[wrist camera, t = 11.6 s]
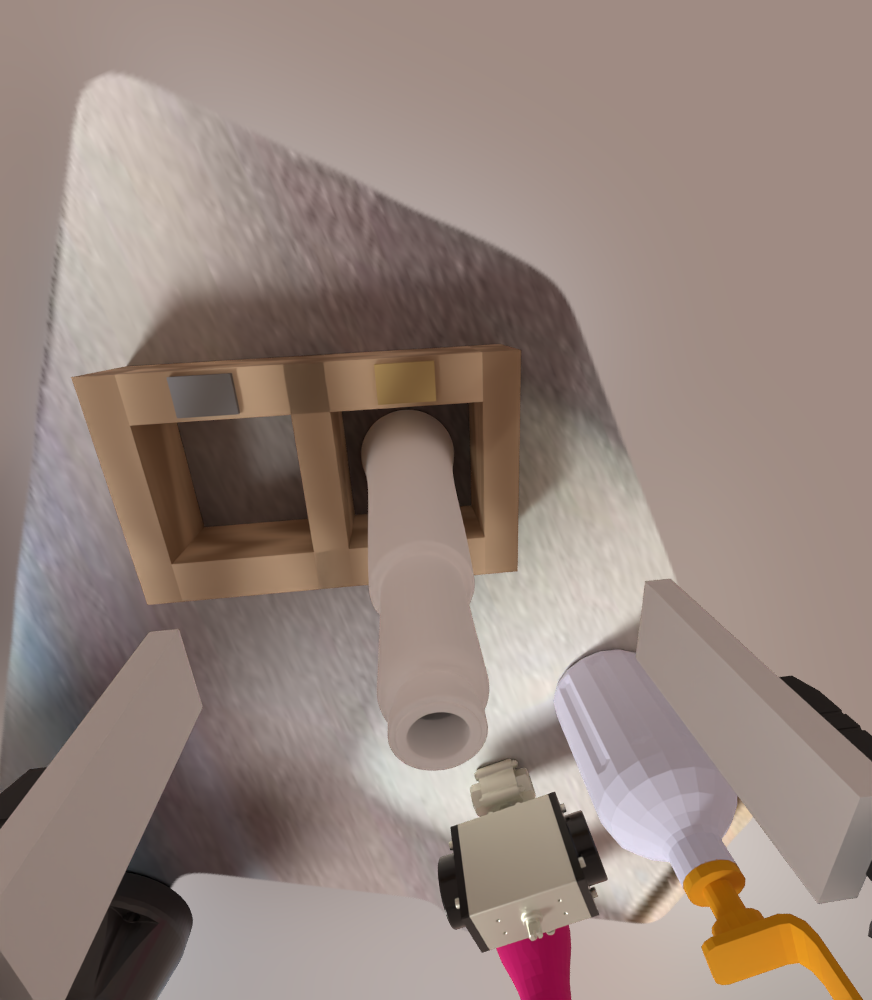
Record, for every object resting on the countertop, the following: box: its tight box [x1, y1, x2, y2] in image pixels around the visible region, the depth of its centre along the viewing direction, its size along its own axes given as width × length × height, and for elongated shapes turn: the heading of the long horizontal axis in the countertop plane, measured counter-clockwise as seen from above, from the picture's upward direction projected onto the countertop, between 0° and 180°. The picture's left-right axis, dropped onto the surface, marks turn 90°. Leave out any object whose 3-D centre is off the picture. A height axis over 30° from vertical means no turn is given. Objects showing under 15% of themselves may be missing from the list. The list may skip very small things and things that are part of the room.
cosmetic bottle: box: [361, 410, 489, 771], centre depth 20 cm, size 6×6×22 cm
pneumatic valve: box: [438, 758, 608, 952], centre depth 37 cm, size 6×12×12 cm, turn 110°
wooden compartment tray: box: [71, 344, 521, 605], centre depth 28 cm, size 22×13×5 cm, turn 93°
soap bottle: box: [554, 649, 863, 1000], centre depth 28 cm, size 9×9×25 cm
